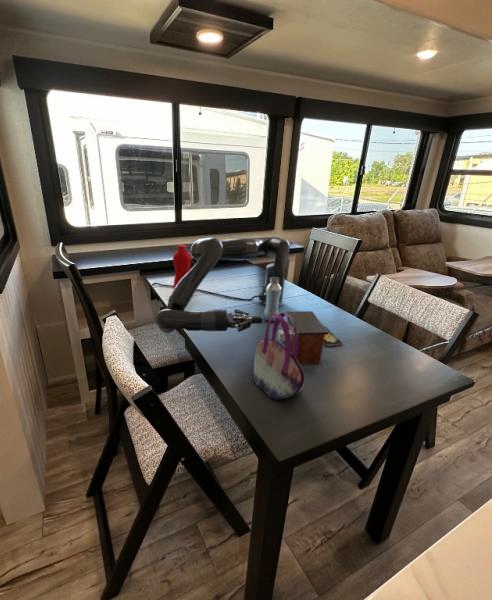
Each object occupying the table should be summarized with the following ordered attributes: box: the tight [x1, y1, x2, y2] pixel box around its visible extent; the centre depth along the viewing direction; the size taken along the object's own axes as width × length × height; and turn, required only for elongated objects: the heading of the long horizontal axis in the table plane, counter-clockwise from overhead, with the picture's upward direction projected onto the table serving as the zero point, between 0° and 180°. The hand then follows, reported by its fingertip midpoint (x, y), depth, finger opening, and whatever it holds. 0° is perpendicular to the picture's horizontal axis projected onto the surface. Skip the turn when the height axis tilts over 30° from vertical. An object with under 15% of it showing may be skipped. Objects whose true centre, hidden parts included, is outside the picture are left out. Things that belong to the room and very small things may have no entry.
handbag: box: [253, 312, 306, 401], centre depth 94 cm, size 21×10×25 cm, turn 31°
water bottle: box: [172, 244, 195, 290], centre depth 167 cm, size 9×11×25 cm
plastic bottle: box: [263, 277, 281, 322], centre depth 137 cm, size 6×7×20 cm
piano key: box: [277, 329, 293, 342], centre depth 114 cm, size 6×3×3 cm, turn 94°
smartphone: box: [323, 325, 343, 347], centre depth 128 cm, size 7×1×15 cm
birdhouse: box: [284, 310, 328, 365], centre depth 115 cm, size 10×17×13 cm, turn 4°
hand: (262, 319), depth 111 cm, fingers closed
